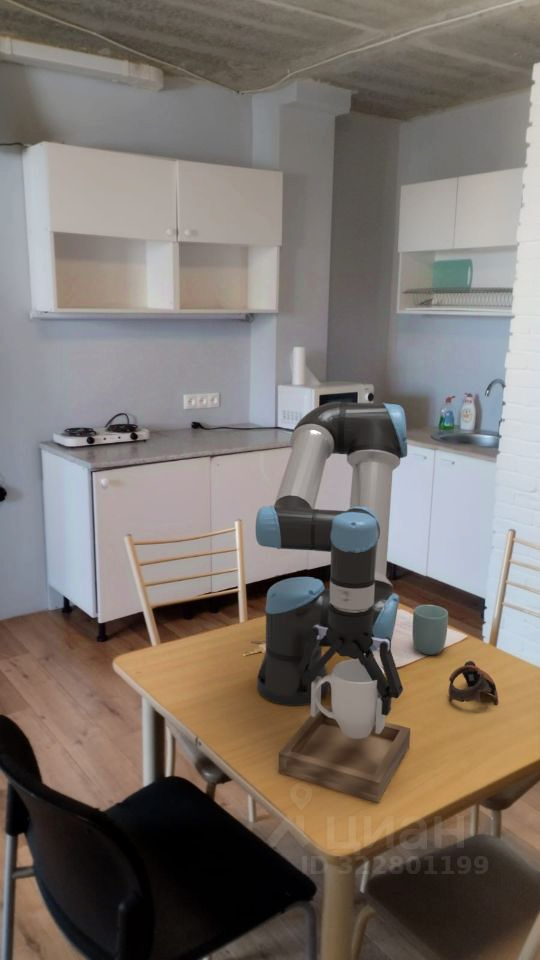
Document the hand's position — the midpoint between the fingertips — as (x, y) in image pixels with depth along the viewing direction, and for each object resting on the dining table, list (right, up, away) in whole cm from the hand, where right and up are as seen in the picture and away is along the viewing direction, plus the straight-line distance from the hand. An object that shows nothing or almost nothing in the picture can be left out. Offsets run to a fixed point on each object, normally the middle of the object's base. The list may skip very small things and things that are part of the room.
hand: (347, 721), depth 133 cm
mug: (0, -2, +1) cm, 2 cm away
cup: (+23, +2, +44) cm, 50 cm away
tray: (0, -7, +2) cm, 8 cm away
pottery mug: (+28, -3, +23) cm, 37 cm away
